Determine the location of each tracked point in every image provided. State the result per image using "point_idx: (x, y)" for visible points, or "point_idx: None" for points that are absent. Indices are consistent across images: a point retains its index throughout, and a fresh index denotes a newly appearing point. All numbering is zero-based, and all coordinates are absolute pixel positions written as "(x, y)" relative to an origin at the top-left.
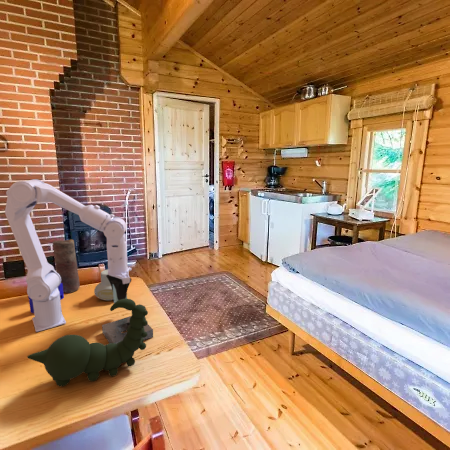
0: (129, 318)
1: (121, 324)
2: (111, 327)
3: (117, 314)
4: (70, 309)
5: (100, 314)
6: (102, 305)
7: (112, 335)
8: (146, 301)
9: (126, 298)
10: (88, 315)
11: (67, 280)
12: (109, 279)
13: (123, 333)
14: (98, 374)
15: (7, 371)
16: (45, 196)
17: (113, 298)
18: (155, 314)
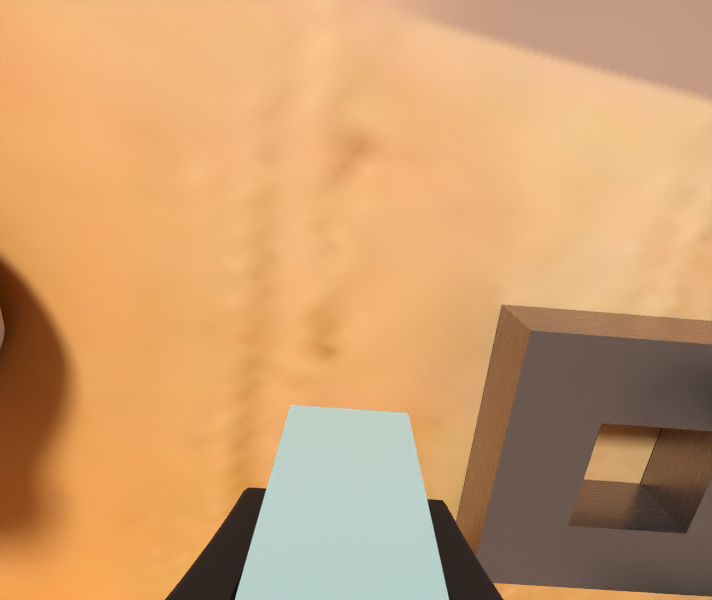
0: (544, 419)
1: (574, 493)
2: (554, 552)
3: (285, 379)
4: (18, 568)
5: (207, 463)
6: (59, 407)
7: (651, 579)
8: (195, 46)
9: (417, 471)
10: (174, 519)
11: None
12: None
13: (697, 528)
14: None
15: None
16: None
17: (3, 330)
18: (519, 126)
